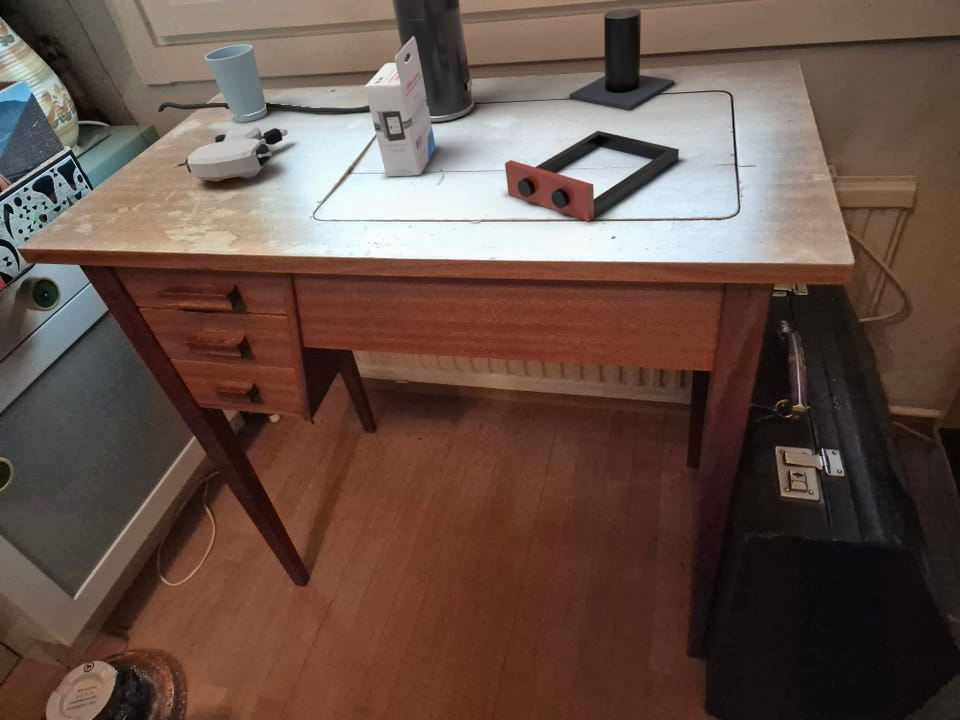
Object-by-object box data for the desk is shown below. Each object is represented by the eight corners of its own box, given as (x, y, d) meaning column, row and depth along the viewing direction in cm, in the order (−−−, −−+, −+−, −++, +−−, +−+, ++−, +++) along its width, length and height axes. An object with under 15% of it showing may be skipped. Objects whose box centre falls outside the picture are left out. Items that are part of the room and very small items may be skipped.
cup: (269, 120, 109) (246, 54, 102) (224, 127, 110) (198, 62, 103) (277, 105, 115) (256, 41, 108) (234, 111, 115) (211, 48, 109)
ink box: (403, 149, 92) (379, 37, 83) (437, 148, 91) (416, 34, 82) (385, 177, 86) (356, 59, 77) (420, 176, 85) (395, 56, 75)
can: (605, 94, 96) (605, 20, 90) (604, 83, 100) (603, 11, 94) (640, 91, 95) (642, 16, 89) (637, 79, 99) (639, 6, 93)
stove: (503, 197, 77) (499, 165, 75) (597, 141, 86) (597, 111, 83) (583, 225, 70) (582, 191, 68) (678, 161, 78) (680, 128, 76)
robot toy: (221, 156, 102) (182, 194, 90) (211, 127, 99) (168, 162, 87) (297, 147, 101) (267, 185, 89) (288, 117, 98) (256, 151, 86)
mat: (569, 98, 99) (569, 94, 98) (614, 74, 104) (614, 70, 104) (630, 110, 92) (630, 106, 92) (674, 84, 97) (674, 80, 97)
